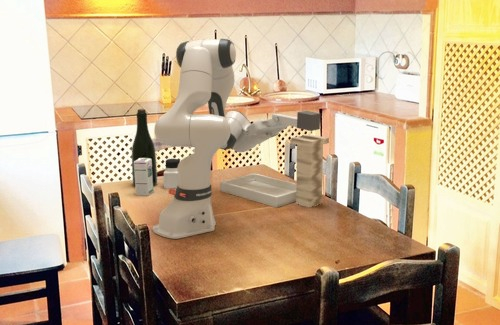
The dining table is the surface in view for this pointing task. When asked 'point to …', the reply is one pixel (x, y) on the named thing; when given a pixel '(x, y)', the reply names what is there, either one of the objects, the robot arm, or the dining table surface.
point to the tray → (261, 189)
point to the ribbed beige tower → (309, 169)
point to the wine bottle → (143, 144)
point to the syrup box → (143, 176)
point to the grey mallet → (301, 120)
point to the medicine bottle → (171, 174)
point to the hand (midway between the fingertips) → (281, 117)
